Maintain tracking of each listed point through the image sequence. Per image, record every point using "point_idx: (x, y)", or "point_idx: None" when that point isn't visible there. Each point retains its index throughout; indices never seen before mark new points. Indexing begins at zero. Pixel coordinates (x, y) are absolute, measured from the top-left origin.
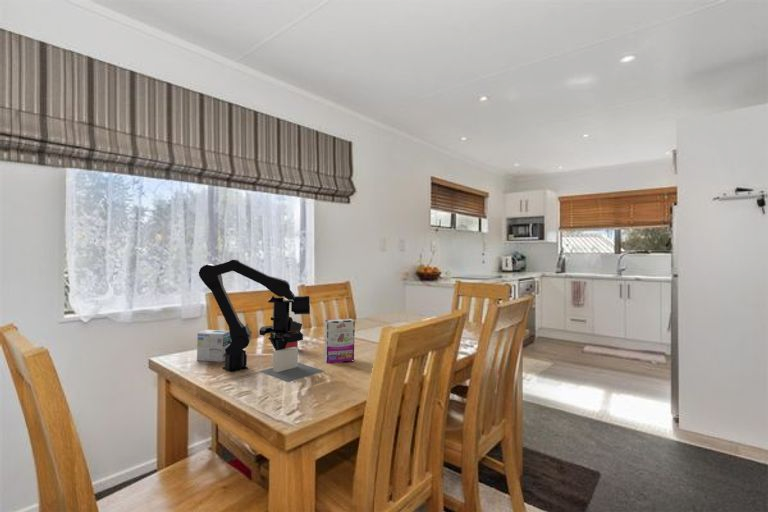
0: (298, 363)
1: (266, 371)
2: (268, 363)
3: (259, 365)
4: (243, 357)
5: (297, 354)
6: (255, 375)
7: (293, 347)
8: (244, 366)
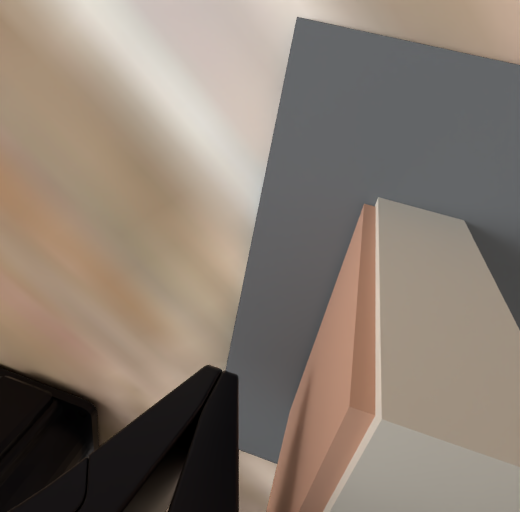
0: (385, 71)
1: (259, 433)
2: (71, 232)
3: (73, 310)
4: (13, 497)
5: (515, 345)
6: (247, 483)
7: (409, 485)
8: (60, 410)
